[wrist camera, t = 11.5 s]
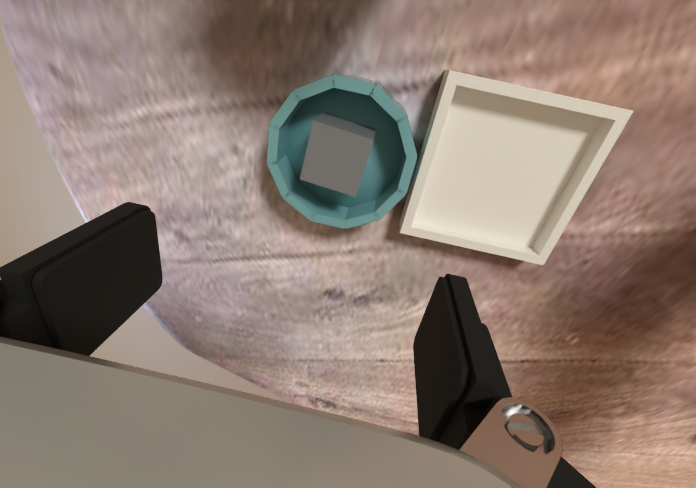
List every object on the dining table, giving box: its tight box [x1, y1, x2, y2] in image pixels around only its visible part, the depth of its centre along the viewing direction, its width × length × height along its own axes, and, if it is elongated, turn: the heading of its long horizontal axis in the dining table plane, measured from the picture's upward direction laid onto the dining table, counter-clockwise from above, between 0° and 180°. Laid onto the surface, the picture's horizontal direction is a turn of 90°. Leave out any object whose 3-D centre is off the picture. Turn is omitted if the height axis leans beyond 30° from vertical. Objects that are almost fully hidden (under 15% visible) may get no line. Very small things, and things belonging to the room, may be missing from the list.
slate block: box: [300, 112, 376, 197], centre depth 26 cm, size 4×4×4 cm
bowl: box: [267, 74, 417, 229], centre depth 27 cm, size 12×12×4 cm
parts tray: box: [399, 70, 633, 265], centre depth 27 cm, size 13×13×2 cm
